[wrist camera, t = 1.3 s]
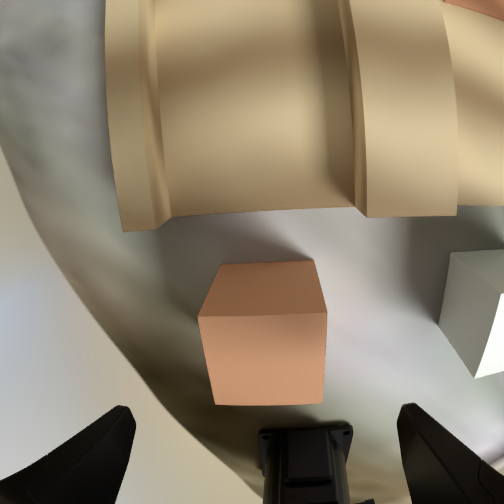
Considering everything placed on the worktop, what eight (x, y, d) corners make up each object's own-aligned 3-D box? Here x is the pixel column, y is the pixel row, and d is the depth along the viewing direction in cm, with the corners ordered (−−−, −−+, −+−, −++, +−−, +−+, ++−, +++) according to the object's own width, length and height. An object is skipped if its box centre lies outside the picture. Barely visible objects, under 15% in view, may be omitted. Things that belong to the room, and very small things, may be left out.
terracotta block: (313, 337, 17) (321, 403, 12) (230, 339, 17) (215, 404, 13) (313, 259, 15) (327, 312, 11) (220, 263, 16) (197, 316, 11)
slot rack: (546, 203, 13) (578, 216, 10) (149, 214, 15) (122, 232, 12) (530, 17, 9) (559, 9, 6) (134, -9, 11) (108, -31, 8)
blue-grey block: (493, 315, 16) (534, 360, 11) (437, 325, 16) (474, 378, 11) (508, 248, 14) (560, 283, 9) (450, 252, 15) (501, 294, 10)
